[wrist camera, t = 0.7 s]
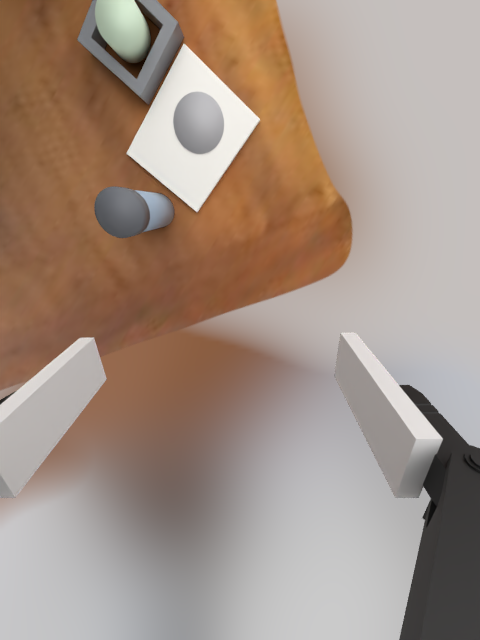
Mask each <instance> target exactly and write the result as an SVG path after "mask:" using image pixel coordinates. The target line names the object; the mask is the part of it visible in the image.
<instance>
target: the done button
mask: <svg viewBox="0 0 480 640" xmlns="http://www.w3.org/2000/svg"><path fill="white" fill-rule="evenodd" d="M95 19H96V24H97V27H98V30H99V32H100V34H101V36H102V37H103V38H104V40H105V41H106V42H107V43H108V44H109V45H110V47H111V48H112V49H113V50H114V51H115V52H116V53H117V54H118V56H119V57H120V58H122V59H123V60H124V61H126V62H129V63H138V62H140V61H142V60H143V59H144V58H145V57H146V56H147V54H148V52H149V49H150V45H151V35H150V29H149V26H148V24H147V22H146V20H145V18H144V16H143V15H142V13H141V11H140V9H139V8H138V6H137V4H136V2H135V1H134V0H97V1H96V6H95Z"/></svg>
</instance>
